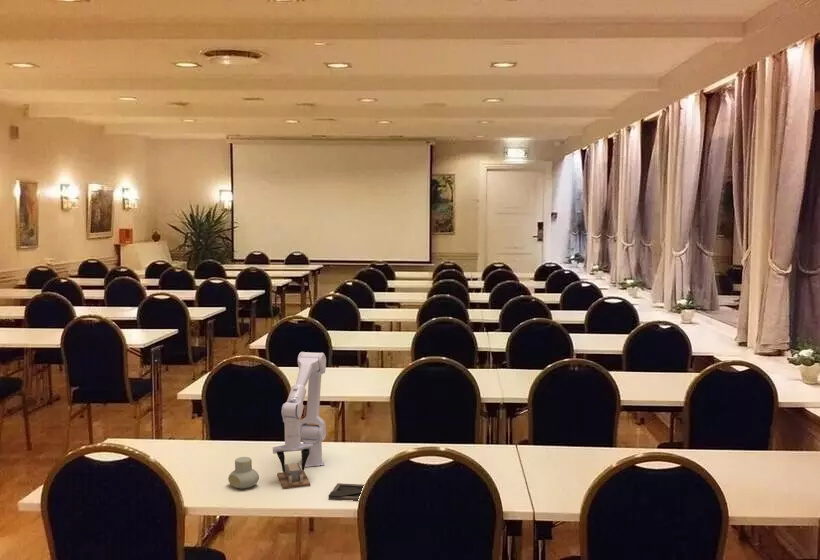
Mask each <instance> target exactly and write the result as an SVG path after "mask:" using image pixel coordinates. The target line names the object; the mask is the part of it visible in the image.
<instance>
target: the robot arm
mask: <svg viewBox="0 0 820 560" xmlns="http://www.w3.org/2000/svg"><path fill="white" fill-rule="evenodd" d="M297 365H298V366H297V367H298V373H297V377H296V382H295V384H294V385H292V386H291V389H290V391H289V394H288V396H287V400H286V402H285V403H283V404H282V406H281V417H282V422H283V423H284V444H282V445H279V446H278V445H277V446H273V447H272V453H273V454H274V455H277V457H278V459H279V462H280V464H281V469H282V472H285V463H286V462H285V461H286V460H285V453H288V452H290V453H291V452H299V451H300V453H301V458H300V461H301V463H300V464H301V466H300V468H301V470H304V471H305V469H306V468H311V467H319V466H320V465H321V466H325V462H324V461H323V456H322V455H323V445H322V442H323V441H324V440H325V439H326V436H327V428H326V427H327V426H326V421H325V420H324V418H322V417H321V416H320V405H321V401H320V400H321V386H322V385H321V383H322V375H323V374H325V373H326V369H327V357H326V355H325V353H324V352H309V351H307V352H305V351H301V352H299V354H298V356H297ZM307 384H308V386H307ZM306 386H307V389H306ZM306 394H307V400H306V401H307V402H306V416H305V417H304V418H302V419H301V417H302V415H303V411H304V410H303V409H304V404H303V403H304V400H305V397H306Z"/></svg>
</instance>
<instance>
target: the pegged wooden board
mask: <svg viewBox="0 0 820 560" xmlns="http://www.w3.org/2000/svg"><path fill="white" fill-rule="evenodd" d="M301 470H302V469H301ZM277 478H278V481H279V483H280V485H281V488H282V490H287V489H288V490H289V489H297V488H306V487H311V482H310V479H309V478H308V476H307V474H306V471H305V469H304V470H302V474H301V475H300V482H293V483H292V476H289V483H288V480H287V478H286V476H285V472H283V471H282V472H281V471H280V472H277Z"/></svg>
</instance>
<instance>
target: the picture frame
mask: <svg viewBox="0 0 820 560" xmlns="http://www.w3.org/2000/svg"><path fill="white" fill-rule="evenodd" d="M364 485H365V484H363V483H362V484H358V483H339V482H338V483H337V484H335V486H334V488H333V489H332V491H331V492H330V493H329V494H328V497H327V498H328V501H342V500H353V501H352V502H359V501H358V499H359V496H360V494H361V491H362V488H363V486H364Z"/></svg>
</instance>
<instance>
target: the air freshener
mask: <svg viewBox="0 0 820 560" xmlns="http://www.w3.org/2000/svg"><path fill="white" fill-rule="evenodd" d="M252 465H253V464H252V458H251V457H250V456H249V457H248V456H240V457H238V458H235V460H234V470H232V471H231V472H230V474H229V475H228V478H227V480H228V483H229V484H230V485H231V486H232V487H234V488H235V489H238V488H239V489H238V490H240V489H241V490H242V489H249V488H252V487H253V486H255V485H256V484H257V483H258V482H259V479H260V475H259V473H258V472H257V471H256V470H255V469H253V466H252Z"/></svg>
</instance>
